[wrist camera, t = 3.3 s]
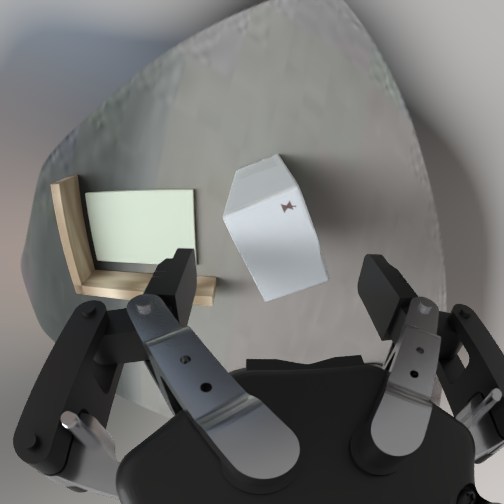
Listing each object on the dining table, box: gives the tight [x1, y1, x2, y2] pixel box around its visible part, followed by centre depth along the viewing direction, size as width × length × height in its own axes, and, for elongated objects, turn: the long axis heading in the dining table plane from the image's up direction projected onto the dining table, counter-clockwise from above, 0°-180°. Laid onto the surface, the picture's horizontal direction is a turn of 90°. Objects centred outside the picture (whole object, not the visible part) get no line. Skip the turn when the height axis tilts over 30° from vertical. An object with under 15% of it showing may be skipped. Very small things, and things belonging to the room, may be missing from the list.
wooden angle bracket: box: [51, 175, 216, 306], centre depth 25 cm, size 16×13×4 cm
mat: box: [85, 189, 197, 265], centre depth 26 cm, size 12×8×1 cm, turn 88°
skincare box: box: [223, 154, 329, 302], centre depth 20 cm, size 6×4×12 cm
